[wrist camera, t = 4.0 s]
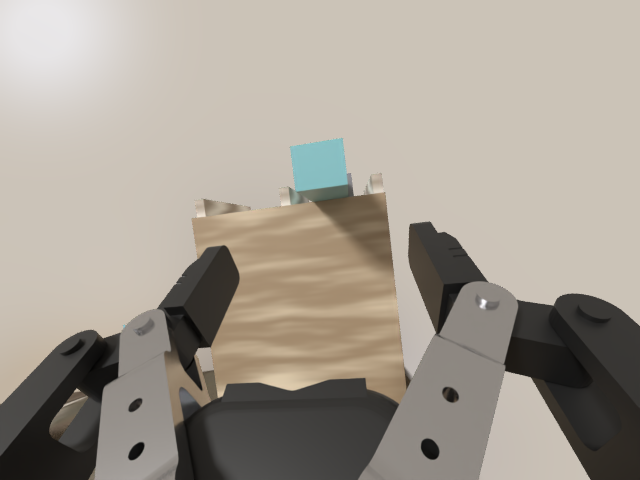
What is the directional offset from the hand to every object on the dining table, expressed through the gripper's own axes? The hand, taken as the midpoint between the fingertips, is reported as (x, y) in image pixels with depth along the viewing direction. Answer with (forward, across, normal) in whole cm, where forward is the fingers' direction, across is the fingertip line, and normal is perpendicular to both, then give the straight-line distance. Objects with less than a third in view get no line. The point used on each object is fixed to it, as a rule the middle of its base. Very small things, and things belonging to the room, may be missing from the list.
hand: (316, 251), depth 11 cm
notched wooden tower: (+4, +5, +35) cm, 36 cm away
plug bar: (+16, 0, +5) cm, 17 cm away
